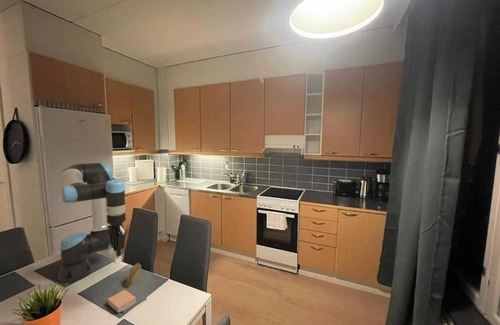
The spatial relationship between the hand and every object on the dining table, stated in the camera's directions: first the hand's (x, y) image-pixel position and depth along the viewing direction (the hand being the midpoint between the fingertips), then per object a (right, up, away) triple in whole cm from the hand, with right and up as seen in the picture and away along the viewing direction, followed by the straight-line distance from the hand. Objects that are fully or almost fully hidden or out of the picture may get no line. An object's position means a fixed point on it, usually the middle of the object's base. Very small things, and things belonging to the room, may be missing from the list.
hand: (117, 261), depth 103 cm
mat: (+5, -20, +2) cm, 21 cm away
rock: (-3, -19, +17) cm, 26 cm away
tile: (-2, -18, +3) cm, 19 cm away
